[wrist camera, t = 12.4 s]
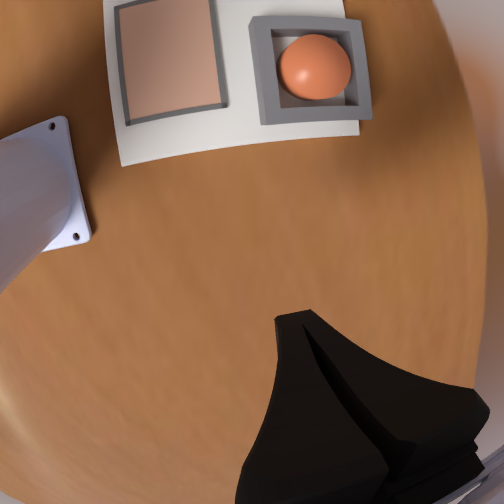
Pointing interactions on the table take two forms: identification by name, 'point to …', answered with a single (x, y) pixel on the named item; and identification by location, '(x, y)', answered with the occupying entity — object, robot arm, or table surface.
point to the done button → (313, 68)
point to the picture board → (222, 74)
